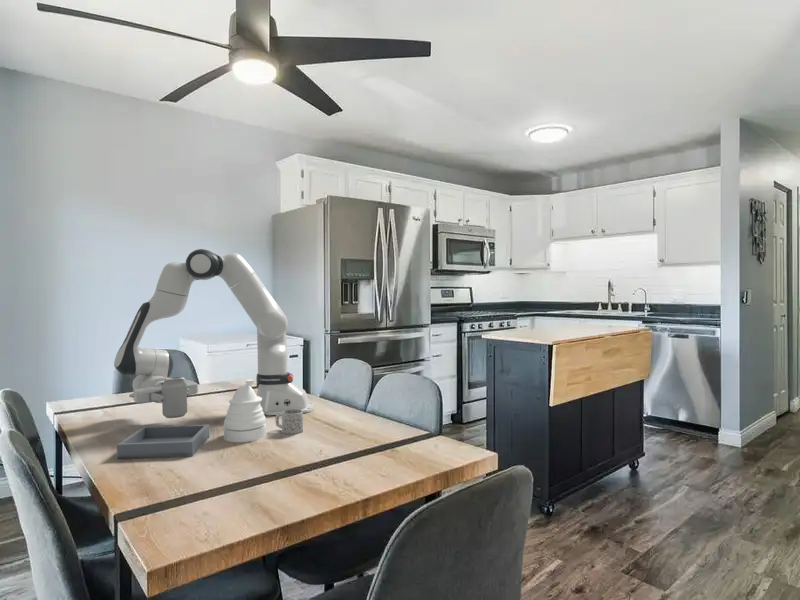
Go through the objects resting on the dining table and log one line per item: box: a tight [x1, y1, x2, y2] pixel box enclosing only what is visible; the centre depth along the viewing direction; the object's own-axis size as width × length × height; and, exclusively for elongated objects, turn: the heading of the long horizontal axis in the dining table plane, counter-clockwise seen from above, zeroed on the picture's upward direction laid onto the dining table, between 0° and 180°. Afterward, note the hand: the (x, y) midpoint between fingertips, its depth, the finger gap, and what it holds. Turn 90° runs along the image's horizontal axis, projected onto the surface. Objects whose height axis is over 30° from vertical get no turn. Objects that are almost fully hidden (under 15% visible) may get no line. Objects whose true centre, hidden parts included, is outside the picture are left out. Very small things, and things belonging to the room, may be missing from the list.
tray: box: [116, 424, 211, 460], centre depth 151 cm, size 20×18×4 cm
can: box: [161, 379, 188, 419], centre depth 169 cm, size 8×8×12 cm
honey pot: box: [223, 379, 267, 443], centre depth 162 cm, size 13×13×18 cm
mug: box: [275, 409, 304, 436], centre depth 167 cm, size 10×7×7 cm
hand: (175, 395), depth 168 cm, fingers closed on can, 7 cm apart
